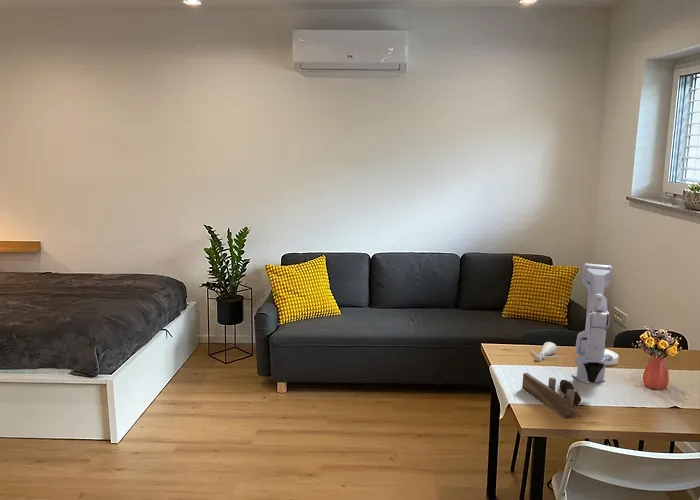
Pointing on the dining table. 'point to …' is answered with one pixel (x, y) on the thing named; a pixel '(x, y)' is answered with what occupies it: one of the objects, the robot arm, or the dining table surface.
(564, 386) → the dark brown elongated lump
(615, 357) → the mooncake
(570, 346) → the dining table surface
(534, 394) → the peg rack
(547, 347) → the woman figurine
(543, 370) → the dining table surface
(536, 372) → the dining table surface
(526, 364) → the dining table surface
